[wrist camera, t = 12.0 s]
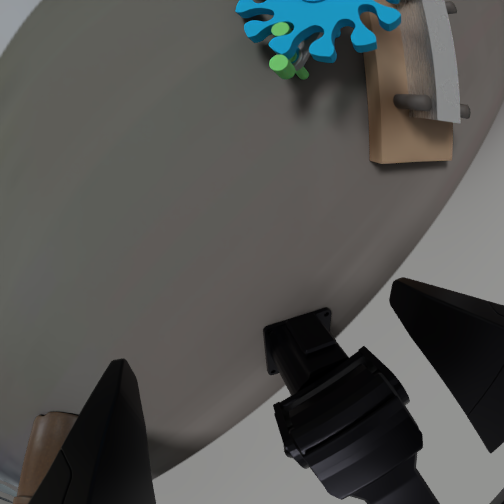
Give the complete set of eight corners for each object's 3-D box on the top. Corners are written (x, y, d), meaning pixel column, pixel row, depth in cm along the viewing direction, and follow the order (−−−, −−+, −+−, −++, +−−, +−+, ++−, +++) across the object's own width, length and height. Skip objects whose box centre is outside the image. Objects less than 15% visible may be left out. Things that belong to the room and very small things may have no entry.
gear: (276, -65, 9) (423, -34, 7) (303, -22, 14) (421, 16, 12) (195, 44, 14) (349, 99, 11) (241, 74, 19) (361, 129, 16)
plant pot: (2, 384, 19) (-22, 511, 5) (137, 409, 25) (158, 552, 11) (39, 450, 24) (38, 541, 10) (140, 465, 30) (158, 559, 16)
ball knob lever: (436, 119, 19) (462, 124, 16) (405, 116, 18) (434, 119, 16) (412, -29, 12) (435, -36, 9) (378, -45, 11) (400, -55, 8)
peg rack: (440, 157, 23) (475, 167, 19) (369, 160, 21) (409, 172, 17) (420, -20, 14) (452, -27, 10) (341, -52, 11) (372, -71, 8)
